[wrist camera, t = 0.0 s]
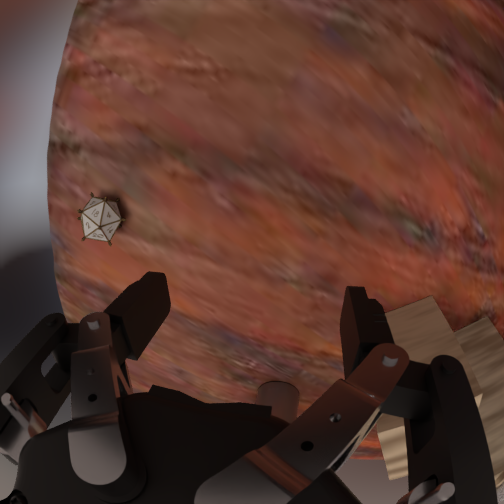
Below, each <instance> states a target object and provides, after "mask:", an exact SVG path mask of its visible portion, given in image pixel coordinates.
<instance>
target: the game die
mask: <svg viewBox="0 0 504 504" xmlns="http://www.w3.org/2000/svg"><path fill="white" fill-rule="evenodd" d="M91 197H92V198H91V199H90V201H89V202H88V203H87V205H86V206H85V207H84V209H83V210H82V211H81V210H80V209H79V210H77V211H78V212H79V213H81V217H78V218H77V219H78V220H81V223H82V228H83V233H84V237H83V238H82V241H84V240H85V238H88V239H94V240H100V241H106V242H108V244H109V245H110V246H111V245H112V244H111V242H110V240H111V239H112V237H113V235H114V233H115V231H116V230H117V228H118V227H119V228H120V227H122V226H121V225H119V224H120V223H121V221H126V219H125V218H121V215H120V211H119V208H118V205H117V202H118V201H119V198H117V199H116V201H113V200H108V199H107V197H104V199H103V198H98V197H94V195H93V193H92V192H91Z"/></svg>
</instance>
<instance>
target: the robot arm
mask: <svg viewBox="0 0 504 504" xmlns="http://www.w3.org/2000/svg"><path fill="white" fill-rule="evenodd" d="M170 307H171V302H170V296H169V291H168V285H167V280H166V276H165V274H164V273H160V272H150V271H149V272H147V273H146V274H145V275H144V276H143V277H142V278H141V279H140V280H139V281H136V282H134V283H133V284H131V285H129V286H128V287H127V288H126V289H125V290H124V291H123V293H121V294H120V295H119V296H118V298H116V299H115V300H114V301H113V302H112V303H111V304H110V305H109V306H108V307H107V308H106V309H105V310H104V312H94V313H90V314H88V315H86V316H85V317H83V318H82V319H81V321H80V323H67V321H66V318H65V316H64V315H63V314H61V313H53V314H49V315H47V316H46V317H44V318H43V319H42V320H41V321H40V322H39V323H38V324H37V325H36V326H35V327H34V328H33V329H32V330H31V331H30V332H29V333H28V334H27V335H26V336H25V337H24V338H23V339H22V340H21V342H20V343H19V344H18V345H17V346H16V347H15V348H14V349H13V350H12V351H11V353H10V354H9V355H8V356H7V357H6V358H5V359H4V360H3V361H2V363H1V364H0V453H1V454H3V455H4V456H5V457H6V458H7V459H8V460H9V461H11V462H12V463H13V464H15V465H18V472H17V478H16V482H15V486H14V489H13V491H12V493H11V494H10V495H9V496H8V497H7V498H5V499H3V500H1V501H0V504H362V503H361V502H360V501H359V500H358V499H357V497H356V496H355V495H354V494H353V493H352V492H351V491H350V490H349V488H348V487H347V486H346V485H345V484H344V483H343V482H342V480H341V479H340V478H339V477H338V476H337V475H336V474H335V473H336V472H337V471H338V470H339V469H340V468H341V467H342V466H343V465H344V463H345V462H346V461H347V460H348V459H349V457H350V456H351V455H352V454H353V452H354V451H355V450H356V448H357V447H358V446H359V444H360V443H361V442H362V441H363V439H364V438H365V437H366V436H367V434H368V433H369V432H370V430H371V429H372V428H373V427H374V425H375V424H376V422H377V421H378V420H379V418H380V417H381V416H382V414H383V413H384V414H388V415H392V416H397V417H402V418H403V419H404V427H405V437H406V448H407V462H408V482H409V493H407V494H406V495H404V496H403V497H402V498H401V499H399V500H398V502H397V503H396V504H498V500H497V491H496V484H495V478H494V472H493V466H492V461H491V456H490V451H489V447H488V443H487V439H486V435H485V431H484V427H483V424H482V420H481V417H480V413H479V410H478V407H477V404H476V401H475V398H474V395H473V392H472V389H471V386H470V383H469V380H468V378H467V375H466V372H465V370H464V367H463V365H462V364H461V362H460V361H459V360H457V359H456V358H454V357H452V356H449V355H438V356H436V357H434V358H433V359H432V361H431V363H430V364H425V363H421V362H416V361H412V360H410V359H409V355H408V353H407V352H406V351H405V350H404V349H403V348H402V347H400V346H398V345H396V344H395V342H394V339H393V336H392V333H391V330H390V327H389V324H388V322H387V318H386V316H385V312H384V310H383V307H382V305H381V304H380V303H379V302H378V301H377V300H376V299H368V297H367V294H366V290H365V288H364V287H357V286H347V287H346V291H345V296H344V302H343V307H342V313H341V319H340V335H341V343H342V353H343V363H344V374H345V380H343V379H339V380H337V381H336V382H335V383H334V384H333V385H332V386H331V387H330V388H329V389H328V390H327V391H326V392H325V393H324V394H323V395H322V396H321V397H320V398H319V399H317V400H316V401H315V402H314V403H313V404H312V405H311V406H310V407H309V408H308V409H307V410H306V411H305V412H303V413H302V414H301V415H300V416H299V417H298V418H297V413H298V402H299V392H298V390H297V389H296V388H295V387H294V386H292V385H290V384H288V383H284V382H269V383H266V384H263V385H262V386H260V388H259V389H258V392H257V397H256V401H255V404H249V403H241V402H238V403H212V404H209V403H204V402H202V401H199V400H197V399H195V398H193V397H191V396H188V395H186V394H184V393H182V392H180V391H177V390H172V389H168V388H164V387H160V386H156V385H152V387H151V388H150V390H149V392H143V393H133V389H132V385H131V380H130V375H129V371H128V366H127V363H126V361H125V360H126V358H129V359H132V360H136V361H137V360H138V358H139V357H140V355H141V354H142V352H143V351H144V349H145V348H146V346H147V345H148V343H149V342H150V340H151V339H152V338H153V336H154V335H155V333H156V332H157V330H158V329H159V327H160V326H161V324H162V323H163V321H164V320H165V319H166V317H167V316H168V314H169V312H170ZM50 353H51V354H52V355H53V357H54V359H55V361H56V363H55V364H54V366H53V367H52V368H51V370H50V371H49V372H48V373H47V375H46V376H45V377H43V375H42V373H41V365H42V363H43V362H44V360H45V359H46V358H47V357H48V356H49V354H50ZM70 392H71V415H72V420H70V421H68V422H66V423H63V424H61V425H59V426H56V427H54V428H51V429H49V430H47V428H48V426H49V425H50V423H51V421H52V420H53V418H54V417H55V415H56V414H57V412H58V411H59V409H60V407H61V406H62V404H63V403H64V401H65V400H66V398H67V397H68V395H69V394H70Z"/></svg>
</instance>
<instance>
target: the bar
mask: <svg viewBox="0 0 504 504" xmlns="http://www.w3.org/2000/svg"><path fill="white" fill-rule="evenodd" d="M496 491H497V500H498V503H499V502H501V501H503V500H504V482H503V483H502V484H501V485H500V486H499V487H497V488H496Z"/></svg>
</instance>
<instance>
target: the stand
mask: <svg viewBox="0 0 504 504" xmlns="http://www.w3.org/2000/svg"><path fill="white" fill-rule="evenodd" d="M385 316H386V318H387V322H388V324H389V327H390V330H391V333H392V336H393V339H394V342H395V344H396V345H398V346H400V347H402V348H403V349H404V350H405V351H406V352H407V353H408V355H409V359H410V360H412V361H416V362H421V363H425V364H430V363H431V361H432V359H433V358H434V357H436V356H438V355H449V356H452V357H454V358H456V359H457V360H459V361H460V362H461V364H462V365H463V367H464V370H465V372H466V375H467V378H468V380H469V383H470V386H471V389H472V392H473V395H474V398H475V401H476V404H477V407H478V410H479V413H480V417H481V420H482V424H483V427H484V431H485V435H486V439H487V443H488V447H489V451H490V456H491V461H492V466H493V472H494V478H495V484H496V488H497V487H499V486H500V485H501V484H502V483H503V482H504V340H503V338H502V337H501V335H500V334H499V332H498V331H497V329H496V328H495V327H494V325H493V324H492V322H491V321H490V319H489V318H488V317H485V318H483V319H481V320H479V321H477V322H475V323H473V324H471V325H468V326H466V327H464V328H462V329H460V330H458V331H456V332H453V331H452V329H451V327H450V326H449V324H448V322H447V320H446V319H445V317H444V315H443V313H442V312H441V310H440V308H439V307H438V305H437V303H436V302H435V300H434V298H433V297H432V295H431V296H429V297H426V298H424V299H422V300H419V301H416V302H414V303H411V304H409V305H406V306H404V307H401V308H398V309H396V310H393V311H390V312H387V313H385ZM376 424H377V433H378V437H379V440H380V444H381V448H382V452H383V455H384V459H385V462H386V467H387V471H388V475H389V479H390V480H392V479H396V478H400V477H404V476H407V475H408V462H407V448H406V437H405V427H404V419H403V418H402V417H397V416H392V415H388V414H384V413H383V414H382V416H381V417H380V418H379V420H378V421H377V422H376Z"/></svg>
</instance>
